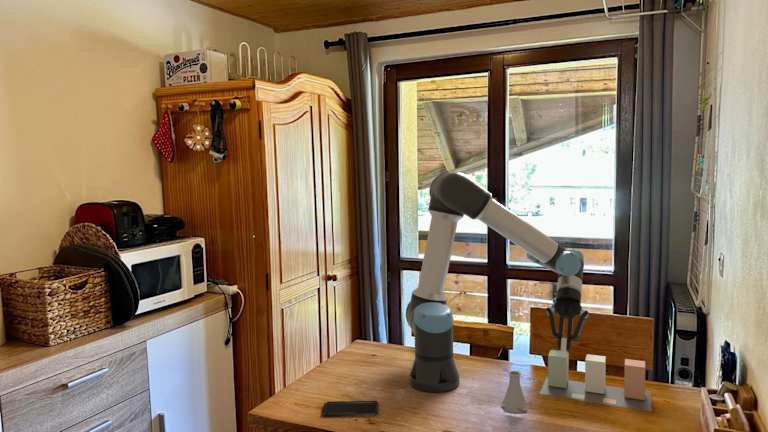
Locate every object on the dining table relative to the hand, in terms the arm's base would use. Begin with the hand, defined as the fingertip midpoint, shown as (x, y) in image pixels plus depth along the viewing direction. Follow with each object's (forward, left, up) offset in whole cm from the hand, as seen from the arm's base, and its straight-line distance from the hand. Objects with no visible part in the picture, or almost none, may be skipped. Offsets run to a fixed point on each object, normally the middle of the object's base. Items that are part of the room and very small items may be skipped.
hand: (562, 359), depth 156 cm
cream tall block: (+9, -5, -6) cm, 12 cm away
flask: (-10, -22, -8) cm, 25 cm away
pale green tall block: (-1, -5, -6) cm, 8 cm away
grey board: (+9, -7, -7) cm, 14 cm away
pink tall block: (+19, -5, -6) cm, 21 cm away
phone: (-50, -41, -8) cm, 65 cm away
